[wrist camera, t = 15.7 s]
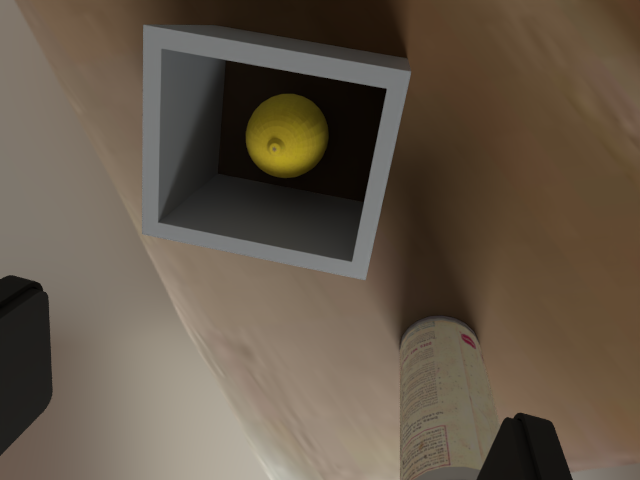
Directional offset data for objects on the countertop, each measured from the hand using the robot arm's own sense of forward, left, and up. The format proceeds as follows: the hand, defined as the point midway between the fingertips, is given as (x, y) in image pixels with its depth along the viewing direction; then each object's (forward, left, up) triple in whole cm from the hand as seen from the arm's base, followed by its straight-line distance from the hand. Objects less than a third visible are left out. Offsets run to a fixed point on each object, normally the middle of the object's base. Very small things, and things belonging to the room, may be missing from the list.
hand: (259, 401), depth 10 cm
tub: (+5, +1, -30) cm, 30 cm away
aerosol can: (-10, +18, -30) cm, 36 cm away
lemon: (+5, +1, -30) cm, 31 cm away
